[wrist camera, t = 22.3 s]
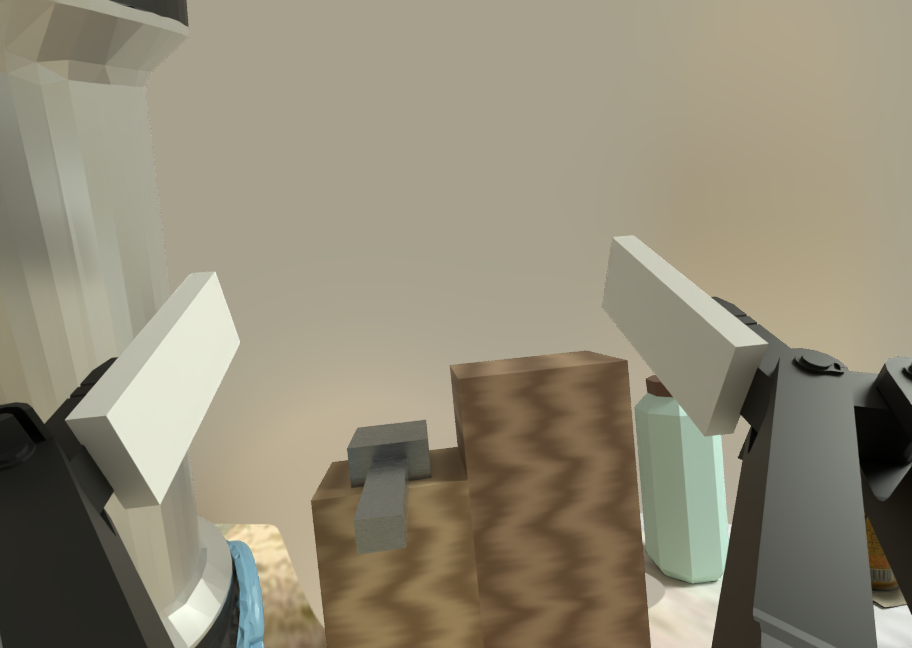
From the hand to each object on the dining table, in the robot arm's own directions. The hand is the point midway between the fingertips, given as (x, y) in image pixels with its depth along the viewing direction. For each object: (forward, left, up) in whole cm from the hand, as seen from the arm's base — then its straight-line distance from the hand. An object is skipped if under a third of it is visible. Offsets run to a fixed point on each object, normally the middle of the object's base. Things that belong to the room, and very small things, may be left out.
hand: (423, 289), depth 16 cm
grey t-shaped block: (-4, +28, -18) cm, 33 cm away
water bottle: (+32, +41, -38) cm, 64 cm away
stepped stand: (+4, +34, -38) cm, 51 cm away
